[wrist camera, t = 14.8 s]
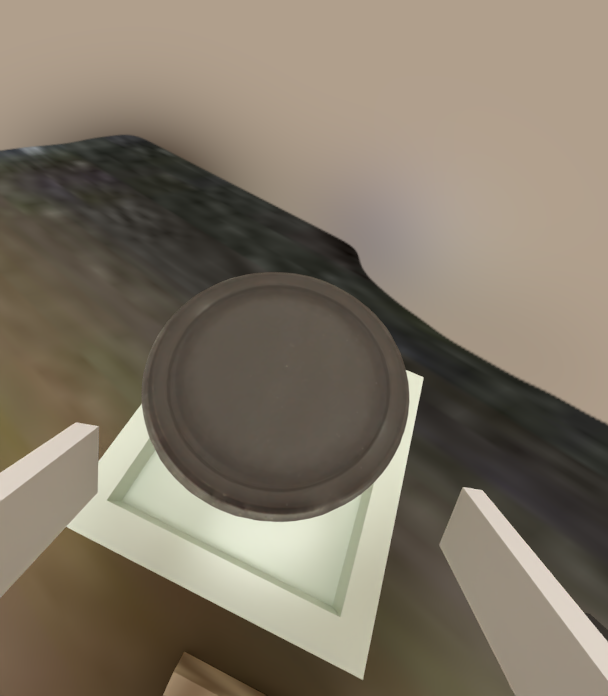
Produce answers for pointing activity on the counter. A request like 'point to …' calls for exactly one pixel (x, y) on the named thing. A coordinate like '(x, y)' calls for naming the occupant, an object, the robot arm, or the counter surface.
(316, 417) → the coffee can
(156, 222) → the counter surface
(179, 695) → the collar
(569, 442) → the counter surface
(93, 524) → the tray
